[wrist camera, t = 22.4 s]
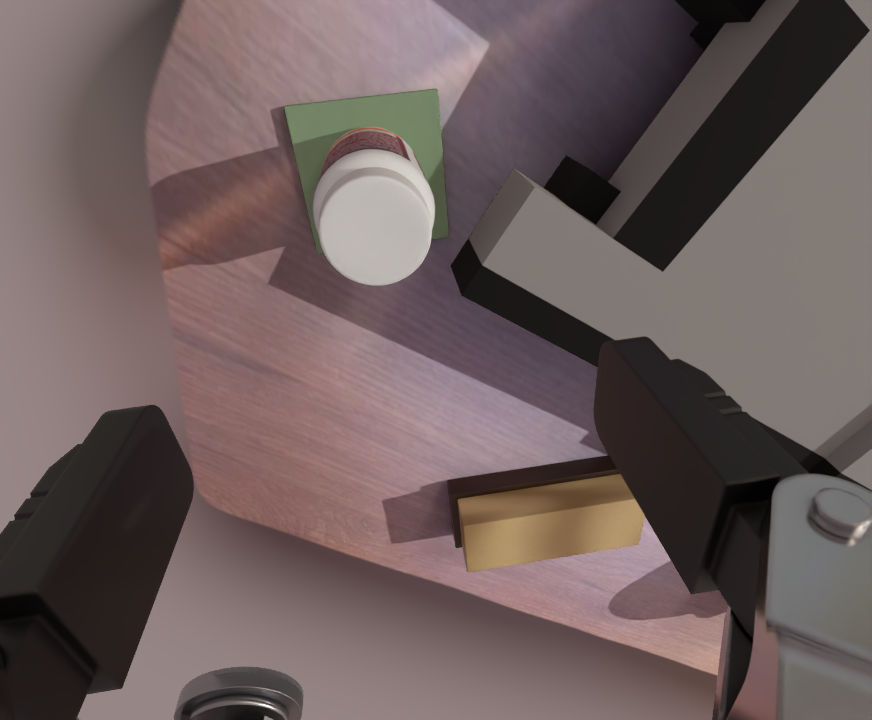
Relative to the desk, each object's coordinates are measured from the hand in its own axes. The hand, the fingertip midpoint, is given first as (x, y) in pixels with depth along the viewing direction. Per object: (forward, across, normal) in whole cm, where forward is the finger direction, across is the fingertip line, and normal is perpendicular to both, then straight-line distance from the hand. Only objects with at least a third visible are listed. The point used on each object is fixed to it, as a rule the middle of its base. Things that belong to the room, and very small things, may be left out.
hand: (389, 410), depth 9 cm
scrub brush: (+19, -13, +25) cm, 34 cm away
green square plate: (+19, 0, 0) cm, 19 cm away
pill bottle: (+19, 0, 0) cm, 19 cm away
